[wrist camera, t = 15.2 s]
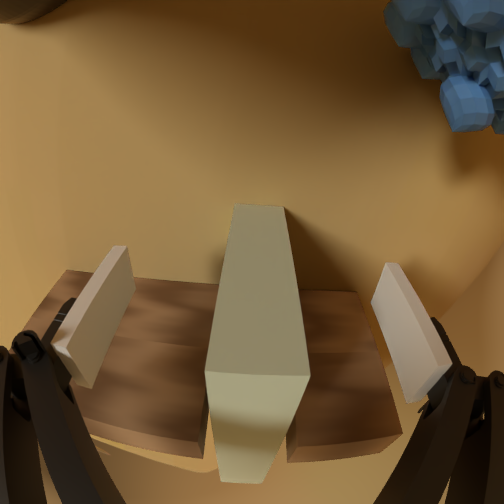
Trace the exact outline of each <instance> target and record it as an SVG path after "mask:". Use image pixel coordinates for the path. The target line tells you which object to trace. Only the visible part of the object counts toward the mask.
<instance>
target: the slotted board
mask: <svg viewBox="0 0 504 504" xmlns="http://www.w3.org/2000/svg"><path fill="white" fill-rule="evenodd" d="M93 274H94V273H88V272H79V271H71V270H66V271H65V273H64V274H63V275H62V276H61V278H60V279H59V280H58V281H57V283H56V284H55V285H54V287H53V288H52V289H51V290H50V292H49V293H48V294H47V296H46V297H45V298H44V300H43V301H42V303H41V304H40V305H39V307H38V308H37V309H36V311H35V312H34V314H33V315H32V317H31V318H30V319H29V321H28V322H27V324H26V325H25V327H24V328H23V330H22V331H25V330H33V331H34V332H36V333H37V335H38V337H39V339H40V340H41V339H42V337H43V336H44V334H45V332H46V331H47V329H48V327H49V326H50V324H51V322H52V321H54V318H55V316H56V315H57V314H58V311H59V310H60V308H61V307H62V305H63V304H64V303H65V302H66V301H68V300H69V299H70V298H71V297H73V298H78V297H79V295H80V293H81V292H82V290H83V289H84V287H85V286H86V284H87V283H88V281H89V280H90V278H91V277H92V276H93ZM133 278H134V277H133ZM134 282H135V286H136V290H135V292H134V294H133V296H132V298H131V300H130V302H129V304H128V306H127V308H126V310H125V312H124V315H123V317H122V319H121V321H120V323H119V325H118V328H117V330H116V332H115V334H114V336H113V339H112V341H111V343H110V346H109V348H108V350H107V353H106V355H105V357H104V360H103V362H102V364H101V367H100V369H99V372H98V374H97V377H96V379H95V382H94V384H93V387H92V389H90V388H87V387H83V386H80V385H77V384H76V382H75V381H74V380H73V378H71V380H70V383H69V384H70V386H71V387H72V390H73V393H74V396H75V399H76V402H77V404H78V407H79V410H80V412H81V415H82V417H83V420H84V422H85V425H86V427H87V430H88V432H89V434H92V435H95V436H98V437H101V438H105V439H108V440H111V441H115V442H118V443H122V444H126V445H130V446H134V447H138V448H142V449H147V450H152V451H156V452H162V453H167V454H173V455H179V456H185V457H192V458H200V459H203V455H204V446H205V438H206V429H207V421H208V413H209V403H208V395H207V387H206V379H205V365H206V359H207V353H208V347H209V341H210V335H211V329H212V324H213V318H214V312H215V306H216V301H217V295H218V290H219V285H216V284H202V283H190V282H178V281H166V280H155V279H144V278H134ZM298 293H299V299H300V305H301V312H302V318H303V325H304V332H305V339H306V346H307V353H308V360H309V368H310V375H311V376H310V378H309V381H308V383H307V386H306V388H305V391H304V393H303V396H302V398H301V401H300V403H299V406H298V408H297V410H296V413H295V415H294V417H293V420H292V422H291V424H290V426H289V429H288V431H287V433H286V448H287V463H294V462H311V461H312V462H313V461H325V460H335V459H342V458H351V457H357V456H363V455H370V454H375V453H380V452H381V451H383V450H384V449H385V448H387V447H388V446H389V445H390V444H391V443H393V442H394V441H395V440H396V439H397V438H398V437H400V436H401V435H402V434H403V432H402V428H401V425H400V421H399V417H398V413H397V410H396V406H395V403H394V399H393V396H392V393H391V390H390V386H389V383H388V380H387V376H386V373H385V370H384V367H383V364H382V361H381V358H380V355H379V352H378V349H377V346H376V343H375V340H374V337H373V335H372V332H371V329H370V326H369V323H368V321H367V318H366V315H365V313H364V310H363V307H362V305H361V302H360V300H359V297H358V294H357V292H351V291H323V290H299V289H298ZM22 331H21V332H22ZM9 353H10V354H15V352H14V351H13V349H12V348H11V349H10V350H9Z"/></svg>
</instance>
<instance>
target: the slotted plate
mask: <svg viewBox="0 0 504 504" xmlns="http://www.w3.org/2000/svg"><path fill="white" fill-rule="evenodd" d="M310 376H311V375H310V368H309V360H308V353H307V346H306V339H305V332H304V325H303V318H302V312H301V305H300V299H299V293H298V286H297V280H296V274H295V268H294V262H293V257H292V251H291V245H290V240H289V234H288V229H287V223H286V218H285V213H284V207H279V206H266V205H250V204H235V206H234V211H233V216H232V221H231V226H230V231H229V236H228V241H227V247H226V252H225V257H224V262H223V268H222V273H221V279H220V284H219V290H218V295H217V301H216V306H215V312H214V318H213V324H212V329H211V335H210V341H209V347H208V353H207V359H206V365H205V379H206V387H207V395H208V403H209V410H210V417H211V424H212V431H213V437H214V444H215V450H216V456H217V462H218V468H219V473H220V479H221V482H234V483H259V484H261V483H262V482H263V480H264V478H265V476H266V474H267V472H268V470H269V468H270V466H271V464H272V462H273V460H274V458H275V456H276V454H277V452H278V450H279V448H280V446H281V444H282V441H283V439H284V437H285V435H286V433H287V431H288V429H289V426H290V424H291V422H292V420H293V417H294V415H295V413H296V410H297V408H298V406H299V403H300V401H301V398H302V396H303V393H304V391H305V388H306V386H307V383H308V381H309V378H310Z"/></svg>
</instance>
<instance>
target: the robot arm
mask: <svg viewBox="0 0 504 504" xmlns="http://www.w3.org/2000/svg"><path fill="white" fill-rule="evenodd" d="M65 1H67V0H0V23H4V24H20V23H25V22H29V21H31V20H34V19H36V18H39V17H41V16H43V15H45V14H47V13H48V12H50V11H52V10H53V9H55V8H57V7H58V6H60V5H61V4H63V3H64V2H65ZM135 290H136V286H135V282H134V278H133V273H132V268H131V263H130V258H129V253H128V248H127V246H117V245H114V246H113V248H112V249H111V250H110V252H109V253H108V254H107V256H106V257H105V258H104V260H103V261H102V263H101V264H100V266H99V267H98V268H97V270H96V271H95V273H94V274H93V276H92V277H91V278H90V280H89V281H88V283H87V284H86V286H85V287H84V289H83V290H82V292H81V293H80V295H79V297H78V298H73V297H71V298H70V299H69V300H68V301H66V302H65V303H64V304H63V305H62V307H61V308H60V310H59V311H58V314H57V315H56V316H55V318H54V321H52V322H51V324H50V326H49V327H48V329H47V331H46V332H45V334H44V336H43V337H42V339H41V340H40V339H39V337H38V335H37V333H36V332H34V331H33V330H25V331H22V332H20V333H19V334H18V335H17V336H16V337H15V338H14V340H13V342H12V346H11V348H12V349H13V351H14V352H15V354H10V353H9V351H8V350H7V348H5V347H4V346H0V504H47V500H46V496H45V491H44V486H43V480H42V474H41V468H40V459H39V451H38V442H39V445H40V448H41V451H42V454H43V457H44V460H45V463H46V466H47V468H48V471H49V474H50V476H51V479H52V481H53V483H54V486H55V488H56V490H57V493H58V495H59V497H60V499H61V502H62V504H126V503H125V501H124V499H123V498H122V496H121V494H120V493H119V491H118V489H117V488H116V486H115V484H114V482H113V481H112V479H111V478H110V475H109V473H108V472H107V470H106V468H105V466H104V464H103V462H102V460H101V458H100V456H99V454H98V452H97V450H96V448H95V445H94V443H93V441H92V439H91V437H90V434H89V432H88V430H87V427H86V425H85V422H84V420H83V417H82V415H81V412H80V410H79V407H78V404H77V402H76V399H75V396H74V393H73V390H72V387H71V386H70V384H69V383H70V380H71V378H73V380H74V381H75V382H76V384H77V385H80V386H83V387H87V388H90V389H92V387H93V384H94V382H95V379H96V377H97V374H98V372H99V369H100V367H101V364H102V362H103V360H104V357H105V355H106V353H107V350H108V348H109V346H110V343H111V341H112V339H113V336H114V334H115V332H116V330H117V328H118V325H119V323H120V321H121V319H122V317H123V315H124V312H125V310H126V308H127V306H128V304H129V302H130V300H131V298H132V296H133V294H134V292H135ZM371 305H372V307H373V310H374V312H375V315H376V317H377V320H378V323H379V325H380V328H381V330H382V333H383V336H384V338H385V341H386V344H387V347H388V349H389V352H390V355H391V358H392V361H393V363H394V366H395V369H396V372H397V375H398V378H399V381H400V385H401V388H402V391H403V394H404V397H405V401H406V403H407V404H408V403H413V402H418V401H421V400H422V399H423V398H424V397H425V395H426V394H427V395H428V398H429V400H428V401H427V402H426V403H425V404H424V405H423V406H422V407H421V408H420V410H419V411H418V413H420V412H421V411H422V410H423V412H422V414H421V416H420V419H419V421H418V423H417V425H416V428H415V430H414V432H413V434H412V436H411V438H410V440H409V443H408V445H407V447H406V448H405V450H404V452H403V454H402V456H401V458H400V460H399V462H398V464H397V466H396V467H395V469H394V471H393V473H392V474H391V476H390V478H389V479H388V481H387V483H386V485H385V486H384V488H383V489H382V491H381V493H380V494H379V496H378V497H377V499H376V500H375V502H374V503H373V504H438V503H439V501H440V499H441V497H442V495H443V492H444V490H445V488H446V486H447V483H448V481H449V479H450V482H449V487H448V492H447V496H446V500H445V504H504V374H503V373H502V372H500V371H493V372H492V373H491V374H490V375H489V376H488V377H481V376H476V373H475V372H474V371H473V370H472V369H471V368H470V367H468V366H462V364H461V362H460V360H459V358H458V356H457V354H456V352H455V350H454V348H453V346H452V344H451V342H450V341H449V338H448V336H447V335H446V332H445V330H444V328H443V327H442V325H441V324H440V323H439V322H438V321H437V320H436V319H435V318H434V317H431V318H430V317H429V315H428V314H427V312H426V310H425V308H424V306H423V305H422V303H421V301H420V299H419V297H418V296H417V294H416V292H415V291H414V289H413V287H412V285H411V284H410V282H409V280H408V279H407V277H406V275H405V274H404V272H403V270H402V269H401V267H400V266H399V264H398V263H388V262H386V263H385V266H384V269H383V271H382V274H381V277H380V280H379V282H378V285H377V287H376V290H375V293H374V295H373V298H372V300H371ZM483 414H484V419H483ZM37 439H38V440H37ZM450 476H451V477H450Z"/></svg>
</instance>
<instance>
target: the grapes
mask: <svg viewBox="0 0 504 504" xmlns="http://www.w3.org/2000/svg"><path fill="white" fill-rule="evenodd" d="M383 12H384V19H385V24H386V25H387V27H388V29H389V31H390V33H391V35H392V37H393V39H394V40H395V42H396V43H397V45H398V46H399V47H404V48H411V57H412V59H413V62H414V64H415V66H416V68H417V70H418V72H419V74H420V75H421V77H422V79H436V80H439V79H440V80H441V82H442V84H441V87H440V97H439V98H440V101H441V104H442V108H443V111H444V113H445V116H446V118H447V120H448V123H449V125H450V127H451V129H452V132H471V131H480V130H483V129H485V128H487V127H488V126H490V125H492V127H493V129H494V132H495V134H504V0H391V2H389V3H388V4H387V6H386V8H385V10H384V11H383Z"/></svg>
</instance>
